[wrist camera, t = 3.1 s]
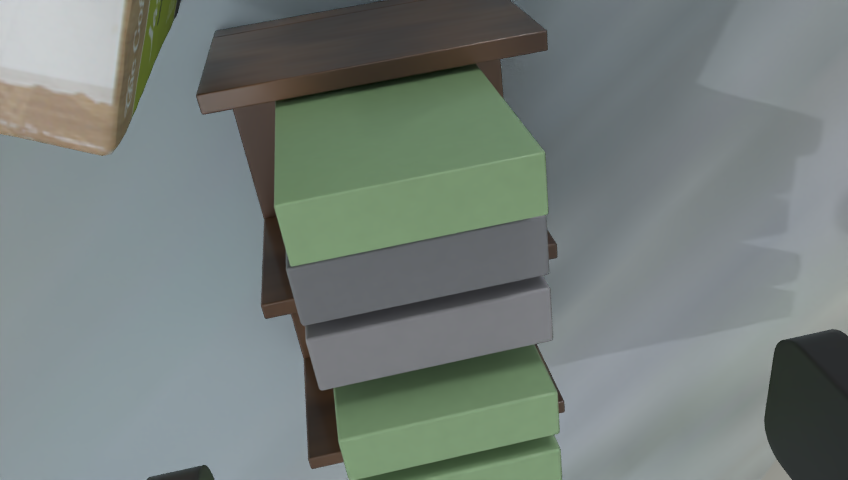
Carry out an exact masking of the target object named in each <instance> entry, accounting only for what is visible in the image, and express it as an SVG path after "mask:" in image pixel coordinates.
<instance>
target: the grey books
mask: <svg viewBox="0 0 848 480" xmlns="http://www.w3.org/2000/svg"><path fill="white" fill-rule="evenodd" d="M286 272H287V275H288V279H289V282H290V286H291V290H292V293H293V297H294V300H295V304H296V308H297V311H298V315H299V318H300V322H301V324H302V325H303V326H305V336H306V344H307V347H308V351H309V354H310V358H311V362H312V365H313V369H314V372H315V376H316V380H317V383H318V387H319V389H320V390H327V389H332V388H336V387H341V386H346V385H350V384H355V383H359V382H364V381H369V380H373V379H378V378H382V377H387V376H392V375H396V374H401V373H405V372H410V371H414V370H419V369H424V368H428V367H433V366H437V365H442V364H447V363H451V362H456V361H460V360H465V359H470V358H474V357H479V356H483V355H488V354H492V353H497V352H502V351H506V350H511V349H515V348H520V347H525V346H529V345H534V344H538V343H543V342H548V341H551V340H553V326H552V308H551V290H550V287H549V285H548V284H547V282H546V280H545V278H544V277H543V275H547V274H549V253H548V235H547V217H546V215H543V216H538V217H533V218H528V219H523V220H518V221H513V222H508V223H504V224H499V225H494V226H489V227H484V228H479V229H474V230H469V231H464V232H460V233H455V234H450V235H445V236H440V237H435V238H430V239H425V240H420V241H415V242H411V243H406V244H401V245H396V246H391V247H386V248H381V249H376V250H371V251H367V252H362V253H357V254H352V255H347V256H342V257H337V258H332V259H327V260H323V261H318V262H313V263H308V264H303V265H298V266H293V267H291V266H290V263H289V260H288V256H287V252H286Z"/></svg>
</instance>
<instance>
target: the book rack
mask: <svg viewBox="0 0 848 480" xmlns="http://www.w3.org/2000/svg"><path fill="white" fill-rule="evenodd" d="M547 49H548V43H547V30H546V29H544V28H543V27H542V26H541V25H539V24H538V23H537V22H536V21H535V20H533V19H532V18H531V17H530V16H528V15H527V14H526V13H525V12H524V11H522V10H521V9H520V8H519V7H517V6H516V5H515V4H514V3H513V2H511V1H510V0H385V1H380V2H374V3H368V4H363V5H357V6H352V7H346V8H340V9H335V10H329V11H324V12H318V13H312V14H307V15H301V16H296V17H290V18H284V19H279V20H273V21H268V22H262V23H256V24H251V25H245V26H240V27H234V28H228V29H223V30H217V31H215V33H214V37H213V39H212V43H211V46H210V50H209V53H208V57H207V60H206V63H205V67H204V70H203V74H202V77H201V81H200V84H199V87H198V91H197V94H196V97H197V101H198V104H199V107H200V110H201V113H202V114H209V113H214V112H220V111H225V110H231V109H233V111H234V115H235V118H236V122H237V125H238V129H239V133H240V136H241V140H242V143H243V147H244V150H245V154H246V157H247V161H248V164H249V168H250V171H251V175H252V178H253V182H254V185H255V189H256V192H257V196H258V199H259V203H260V206H261V210H262V213H263V217H264V237H263V264H262V292H261V308H262V311H263V314H264V317H265V318H266V319H268V318H272V317H277V316H282V315H287V314H291V316H292V319H293V323H294V326H295V330H296V333H297V337H298V340H299V344H300V347H301V351H302V354H303V358H304V376H305V398H306V420H307V442H308V460H309V463H310V466H311V468H312V469H315V468H319V467H324V466H328V465H333V464H337V463H342V462H344V460H343V457H342V453H341V449H340V446H339V442H338V433H337V422H336V411H335V401H334V390H333V388H332V389H327V390H320V389H319V387H318V383H317V380H316V376H315V372H314V369H313V365H312V362H311V358H310V354H309V351H308V347H307V344H306V336H305V326H303V325H302V324H301V322H300V318H299V315H298V311H297V308H296V304H295V300H294V297H293V293H292V290H291V286H290V282H289V279H288V275H287V272H286V249H285V245H284V241H283V238H282V234H281V231H280V227H279V223H278V220H277V216H276V212H275V209H274V168H275V101H279V100H284V99H289V98H295V97H300V96H305V95H311V94H316V93H322V92H327V91H332V90H338V89H343V88H348V87H354V86H359V85H364V84H370V83H375V82H380V81H386V80H391V79H396V78H402V77H407V76H412V75H418V74H423V73H429V72H434V71H439V70H445V69H450V68H455V67H461V66H466V65H471V64H476V65H477V66H478V67H479V68H480V70H481V71H482V72H483V74H484V75H485V76H486V77H487V79H488V80H489V81H490V82H491V84H492V85H493V86H494V88H495V89H496V90H497V91H498V93H499V94H500V95H501V97H502V98H503V86H502V74H501V62H500V59H503V58H509V57H514V56H519V55H525V54H530V53H536V52H541V51H546V50H547ZM547 235H548V253H549V260H550V259H554V258H557V244H556V242H555V241H554V239H553V238H552V236H551V234H550V233H549V231H548V230H547ZM535 346H536V348H537V351H538V353H539V355H540V357H541V359H542V361H543V363H544V365H545V367H546V369H547V371H548V373H549V376H550V378H551V380H552V382H553V384H554V386H555V388H556V390H557V392H558V409H559V413H563V412H564V411H565V406H564V400H563V398H562V396H561V394H560V392H559V390H558V388H557V386H556V383H555V381H554V379H553V377H552V375H551V373H550V371H549V369H548V367H547V365H546V363H545V361H544V359H543V357H542V354H541V352H540V350H539V348H538V346H537V344H535Z"/></svg>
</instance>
